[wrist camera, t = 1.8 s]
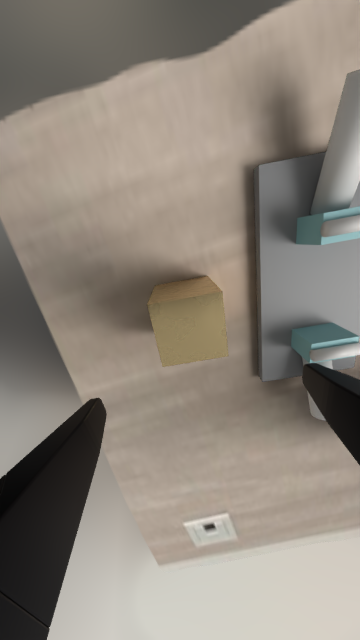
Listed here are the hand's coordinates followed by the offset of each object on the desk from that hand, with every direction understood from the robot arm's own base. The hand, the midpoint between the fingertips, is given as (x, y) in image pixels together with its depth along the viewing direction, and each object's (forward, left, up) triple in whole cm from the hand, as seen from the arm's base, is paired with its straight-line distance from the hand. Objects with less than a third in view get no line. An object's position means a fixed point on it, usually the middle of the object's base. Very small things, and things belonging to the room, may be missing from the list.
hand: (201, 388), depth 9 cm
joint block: (0, 0, -12) cm, 12 cm away
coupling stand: (-12, 0, -12) cm, 17 cm away
